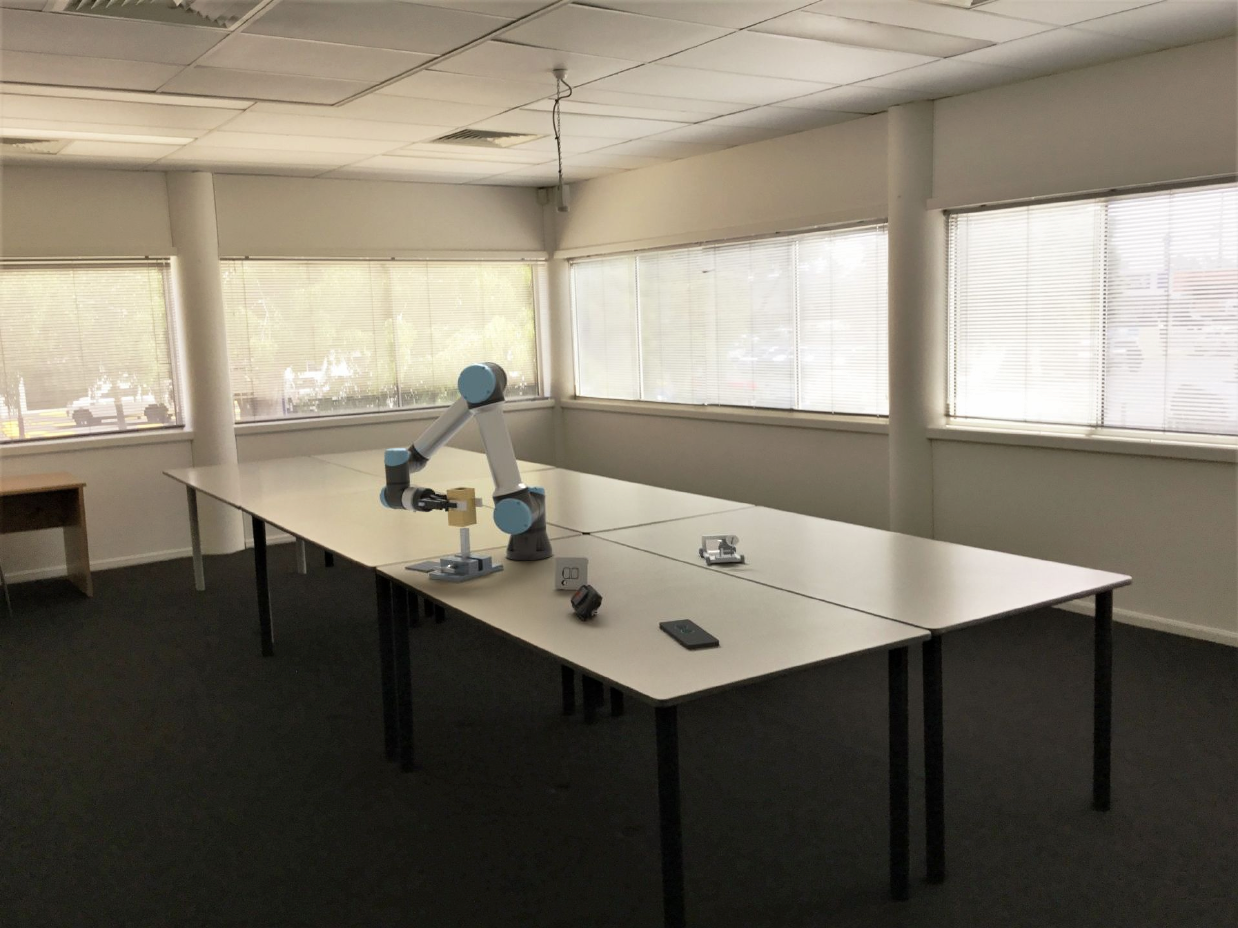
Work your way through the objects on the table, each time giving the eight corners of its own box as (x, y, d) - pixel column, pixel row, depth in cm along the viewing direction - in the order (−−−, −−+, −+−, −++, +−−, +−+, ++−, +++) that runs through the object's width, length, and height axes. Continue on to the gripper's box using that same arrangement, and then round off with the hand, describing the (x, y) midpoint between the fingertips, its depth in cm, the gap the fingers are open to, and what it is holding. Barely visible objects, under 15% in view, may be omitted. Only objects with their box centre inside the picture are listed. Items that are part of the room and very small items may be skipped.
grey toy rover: (746, 535, 316) (708, 537, 315) (746, 567, 317) (709, 569, 316) (733, 524, 334) (698, 526, 333) (734, 554, 335) (699, 556, 334)
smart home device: (689, 618, 257) (721, 640, 238) (689, 624, 258) (721, 647, 239) (657, 621, 255) (687, 644, 236) (657, 628, 255) (687, 651, 236)
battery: (586, 614, 274) (565, 601, 272) (604, 589, 273) (583, 576, 271) (594, 631, 263) (572, 617, 261) (613, 605, 262) (591, 591, 260)
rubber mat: (428, 562, 335) (428, 560, 335) (450, 565, 329) (450, 564, 329) (405, 568, 327) (404, 566, 327) (427, 572, 321) (427, 570, 321)
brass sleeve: (462, 522, 320) (460, 486, 319) (476, 523, 317) (474, 488, 315) (448, 525, 315) (446, 489, 314) (462, 527, 312) (460, 490, 310)
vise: (475, 564, 329) (473, 521, 328) (503, 569, 322) (501, 524, 321) (429, 578, 313) (426, 532, 312) (457, 582, 306) (455, 536, 305)
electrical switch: (554, 590, 294) (554, 557, 294) (559, 587, 299) (559, 555, 299) (586, 591, 292) (586, 558, 292) (590, 588, 298) (590, 556, 297)
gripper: (442, 506, 334) (496, 511, 320) (398, 516, 319) (451, 521, 305) (441, 483, 333) (494, 487, 319) (396, 492, 318) (450, 496, 304)
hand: (473, 504), depth 312 cm, fingers closed on brass sleeve, 6 cm apart
